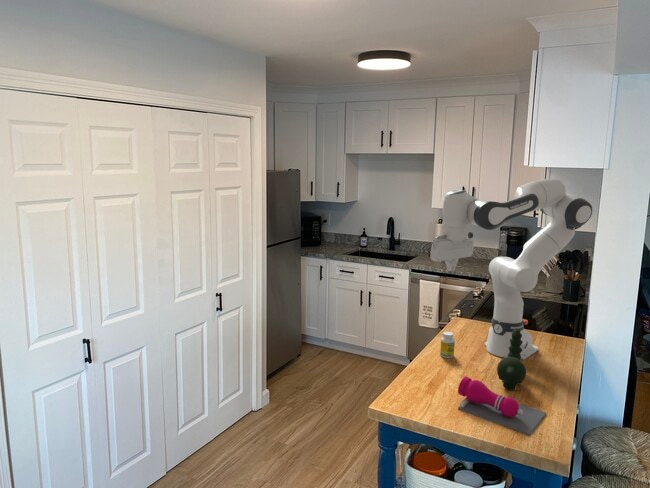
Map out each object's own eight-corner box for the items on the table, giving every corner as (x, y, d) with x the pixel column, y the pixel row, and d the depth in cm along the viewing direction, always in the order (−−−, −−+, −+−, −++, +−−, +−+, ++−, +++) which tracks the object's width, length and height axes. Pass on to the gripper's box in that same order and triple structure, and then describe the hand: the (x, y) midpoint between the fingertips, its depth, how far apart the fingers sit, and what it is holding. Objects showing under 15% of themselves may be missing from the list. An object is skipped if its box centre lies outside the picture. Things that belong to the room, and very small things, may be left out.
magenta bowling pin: (468, 384, 161) (527, 412, 148) (457, 400, 157) (517, 429, 144) (467, 370, 157) (528, 397, 144) (456, 385, 153) (517, 415, 140)
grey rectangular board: (458, 409, 152) (458, 407, 152) (478, 391, 164) (478, 389, 164) (529, 435, 138) (529, 434, 138) (545, 414, 150) (546, 412, 150)
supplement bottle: (446, 352, 197) (447, 330, 195) (456, 356, 192) (458, 334, 190) (437, 354, 194) (438, 332, 192) (447, 359, 189) (448, 336, 187)
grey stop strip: (459, 408, 152) (459, 402, 152) (477, 392, 163) (477, 387, 163) (462, 409, 152) (463, 404, 151) (480, 393, 162) (480, 388, 162)
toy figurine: (499, 371, 184) (493, 393, 161) (504, 323, 182) (498, 338, 159) (526, 376, 180) (523, 399, 157) (531, 327, 178) (528, 344, 155)
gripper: (440, 237, 169) (438, 275, 171) (477, 233, 180) (474, 268, 183) (427, 235, 174) (425, 271, 176) (464, 231, 185) (461, 265, 188)
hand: (450, 270), depth 180 cm, fingers closed
